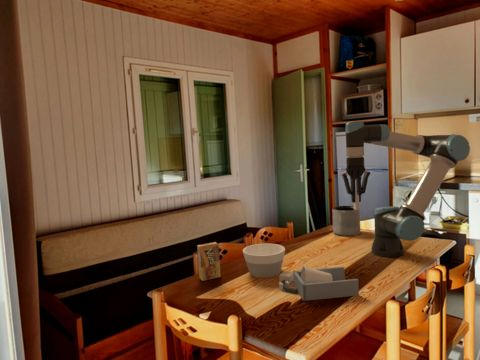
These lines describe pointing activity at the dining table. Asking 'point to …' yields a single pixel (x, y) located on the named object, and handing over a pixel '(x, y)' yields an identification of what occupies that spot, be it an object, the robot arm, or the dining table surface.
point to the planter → (346, 220)
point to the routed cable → (289, 288)
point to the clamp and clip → (287, 277)
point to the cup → (314, 276)
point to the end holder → (326, 285)
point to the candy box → (208, 261)
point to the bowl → (264, 259)
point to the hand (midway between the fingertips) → (356, 209)
